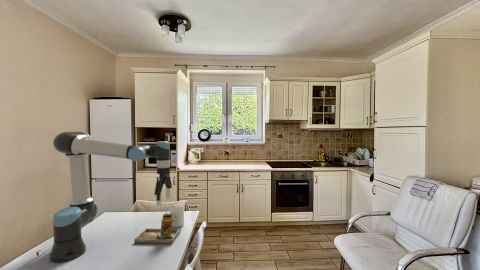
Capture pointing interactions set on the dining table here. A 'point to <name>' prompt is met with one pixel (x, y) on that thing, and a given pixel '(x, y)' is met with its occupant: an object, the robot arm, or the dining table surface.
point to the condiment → (166, 226)
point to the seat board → (156, 237)
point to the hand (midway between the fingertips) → (163, 202)
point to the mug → (177, 216)
